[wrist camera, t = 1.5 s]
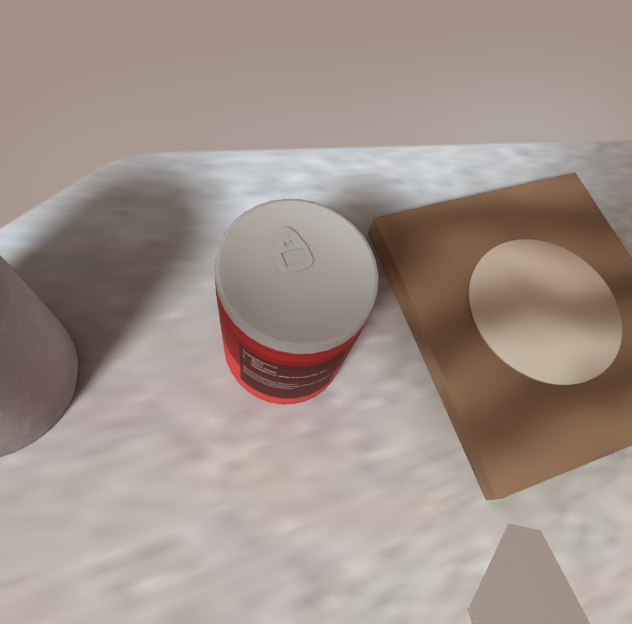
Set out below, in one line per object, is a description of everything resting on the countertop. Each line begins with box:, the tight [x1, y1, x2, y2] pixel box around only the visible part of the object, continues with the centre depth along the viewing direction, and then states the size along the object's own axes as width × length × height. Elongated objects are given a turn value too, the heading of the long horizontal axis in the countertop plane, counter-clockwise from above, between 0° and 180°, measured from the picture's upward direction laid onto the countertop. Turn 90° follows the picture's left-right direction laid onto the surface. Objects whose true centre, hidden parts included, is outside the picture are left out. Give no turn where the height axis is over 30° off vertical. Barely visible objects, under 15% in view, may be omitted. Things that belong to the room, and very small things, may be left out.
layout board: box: [368, 173, 632, 500], centre depth 35 cm, size 20×18×2 cm
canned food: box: [215, 199, 378, 404], centre depth 27 cm, size 8×8×11 cm
